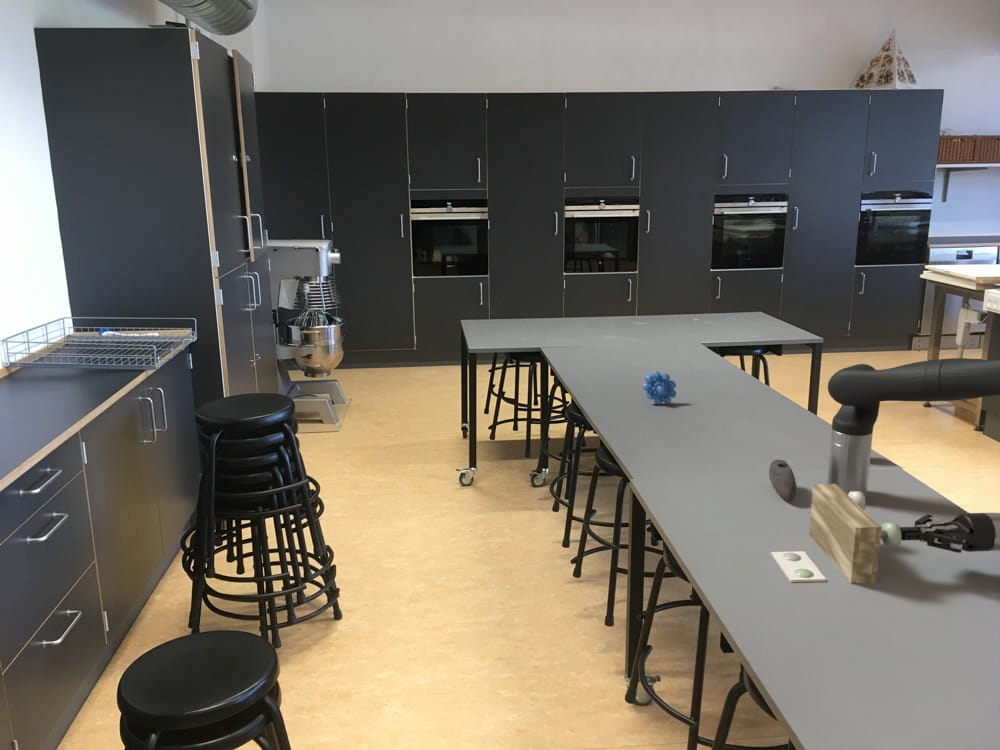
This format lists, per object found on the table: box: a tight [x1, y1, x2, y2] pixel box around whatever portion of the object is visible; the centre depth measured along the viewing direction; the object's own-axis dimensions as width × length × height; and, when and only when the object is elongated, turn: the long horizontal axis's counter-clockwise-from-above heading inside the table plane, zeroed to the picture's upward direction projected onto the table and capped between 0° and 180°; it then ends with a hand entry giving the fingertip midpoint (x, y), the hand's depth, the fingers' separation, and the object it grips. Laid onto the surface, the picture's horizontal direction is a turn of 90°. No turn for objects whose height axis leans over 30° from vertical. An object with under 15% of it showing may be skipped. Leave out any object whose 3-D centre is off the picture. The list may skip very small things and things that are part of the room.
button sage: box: [880, 522, 902, 546], centre depth 160 cm, size 6×4×4 cm
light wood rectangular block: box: [808, 483, 882, 584], centre depth 169 cm, size 5×22×12 cm, turn 0°
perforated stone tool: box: [768, 459, 797, 502], centre depth 202 cm, size 15×5×7 cm, turn 172°
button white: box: [848, 491, 866, 511], centre depth 176 cm, size 6×4×4 cm
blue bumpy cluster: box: [642, 370, 677, 406], centre depth 278 cm, size 12×7×12 cm, turn 87°
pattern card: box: [770, 550, 827, 583], centre depth 167 cm, size 12×7×1 cm, turn 0°
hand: (899, 533), depth 160 cm, fingers closed
